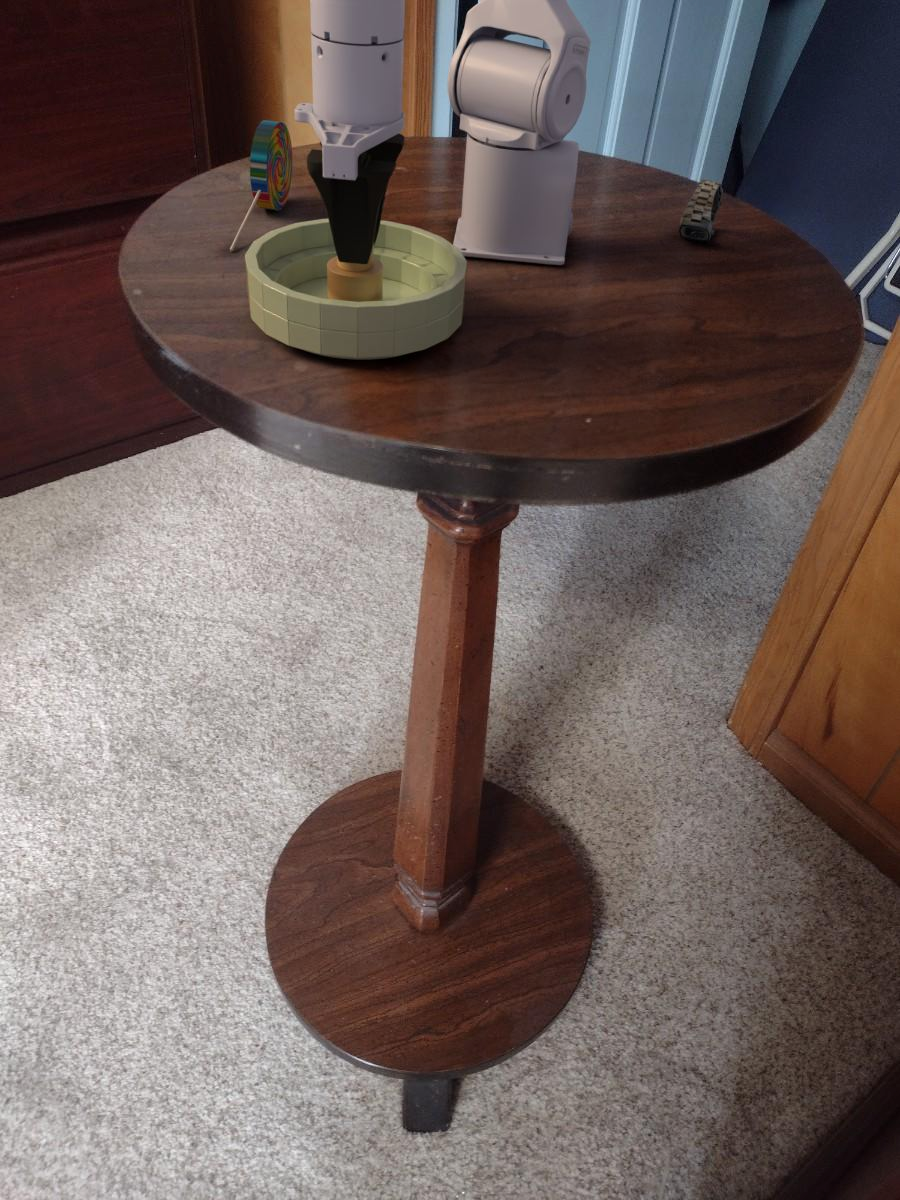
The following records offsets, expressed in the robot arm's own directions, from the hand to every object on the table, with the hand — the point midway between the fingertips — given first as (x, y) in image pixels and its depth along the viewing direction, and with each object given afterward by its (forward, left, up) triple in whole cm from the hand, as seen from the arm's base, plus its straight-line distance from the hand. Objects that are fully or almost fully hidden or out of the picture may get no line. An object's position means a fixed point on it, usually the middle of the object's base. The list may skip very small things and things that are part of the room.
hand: (357, 252), depth 69 cm
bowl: (0, 0, -5) cm, 5 cm away
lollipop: (+11, -17, -5) cm, 21 cm away
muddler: (0, 0, -4) cm, 4 cm away
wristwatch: (-28, -23, -5) cm, 37 cm away
